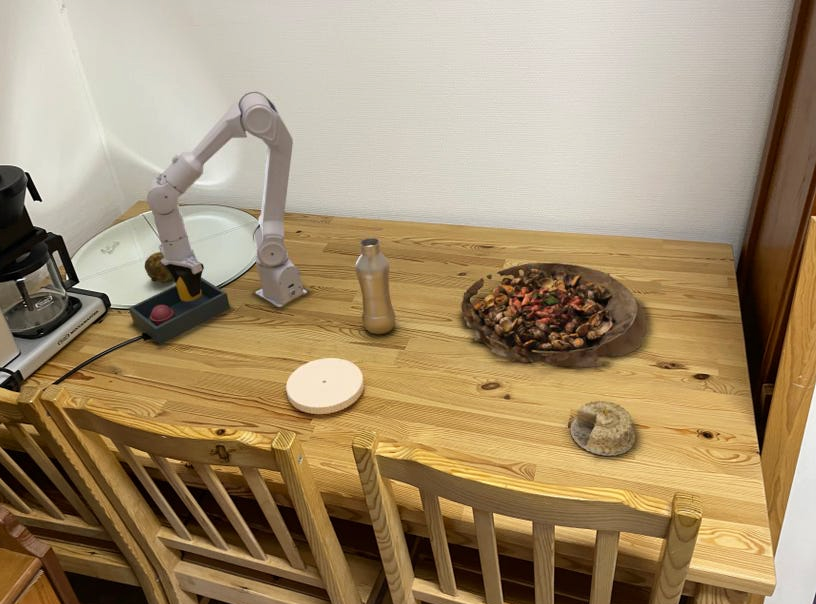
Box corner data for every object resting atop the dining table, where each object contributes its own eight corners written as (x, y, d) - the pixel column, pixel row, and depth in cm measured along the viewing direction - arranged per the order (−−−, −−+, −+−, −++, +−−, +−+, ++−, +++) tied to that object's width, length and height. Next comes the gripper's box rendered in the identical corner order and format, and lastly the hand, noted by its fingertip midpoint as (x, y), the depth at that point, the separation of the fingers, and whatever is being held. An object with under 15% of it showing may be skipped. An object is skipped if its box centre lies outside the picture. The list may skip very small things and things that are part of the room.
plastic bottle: (394, 338, 144) (384, 250, 133) (360, 338, 145) (348, 250, 134) (398, 320, 149) (390, 233, 138) (366, 319, 150) (355, 234, 139)
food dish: (440, 357, 139) (436, 323, 134) (488, 272, 163) (486, 241, 159) (635, 386, 124) (638, 349, 120) (656, 288, 148) (659, 254, 144)
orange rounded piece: (205, 294, 158) (199, 271, 155) (187, 303, 156) (180, 281, 153) (194, 287, 161) (188, 265, 158) (176, 296, 159) (169, 274, 156)
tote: (230, 310, 160) (226, 292, 157) (161, 347, 151) (155, 329, 148) (201, 291, 168) (197, 274, 165) (134, 325, 159) (128, 307, 157)
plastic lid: (340, 426, 124) (338, 415, 123) (273, 406, 131) (271, 396, 129) (377, 378, 134) (376, 367, 133) (313, 361, 141) (311, 351, 139)
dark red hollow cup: (180, 324, 156) (175, 305, 153) (160, 335, 154) (154, 315, 151) (169, 316, 159) (163, 297, 157) (149, 326, 157) (143, 307, 154)
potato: (200, 267, 178) (192, 238, 173) (167, 294, 169) (158, 265, 164) (173, 262, 181) (165, 234, 177) (140, 289, 172) (130, 260, 168)
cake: (616, 410, 121) (622, 385, 118) (646, 452, 112) (653, 426, 109) (559, 418, 120) (564, 393, 117) (585, 461, 111) (590, 435, 108)
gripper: (140, 233, 153) (157, 287, 161) (173, 253, 144) (190, 310, 151) (169, 220, 157) (184, 274, 164) (204, 239, 147) (218, 295, 155)
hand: (189, 290), depth 158 cm, fingers closed on orange rounded piece, 5 cm apart
